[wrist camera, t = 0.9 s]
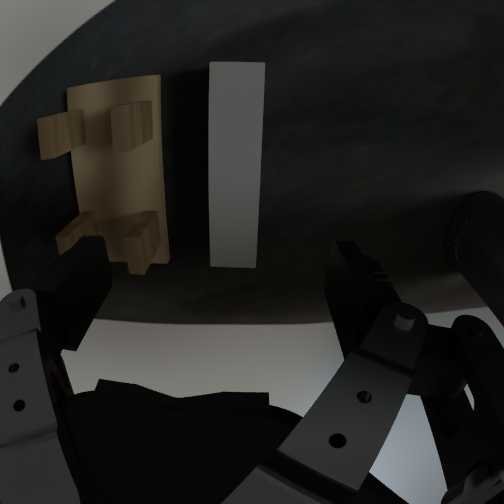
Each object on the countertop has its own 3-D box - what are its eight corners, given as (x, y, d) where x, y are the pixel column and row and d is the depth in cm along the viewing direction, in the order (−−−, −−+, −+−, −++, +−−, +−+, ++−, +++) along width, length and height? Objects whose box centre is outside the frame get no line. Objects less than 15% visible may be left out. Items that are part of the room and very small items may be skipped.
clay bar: (263, 67, 21) (265, 62, 18) (255, 244, 28) (255, 268, 25) (216, 66, 21) (209, 62, 18) (215, 242, 28) (210, 266, 25)
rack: (160, 75, 21) (133, 72, 16) (170, 258, 29) (153, 297, 24) (72, 87, 21) (31, 92, 16) (93, 255, 29) (66, 290, 23)
